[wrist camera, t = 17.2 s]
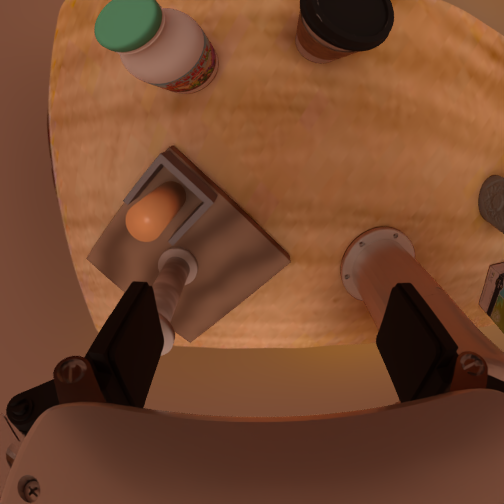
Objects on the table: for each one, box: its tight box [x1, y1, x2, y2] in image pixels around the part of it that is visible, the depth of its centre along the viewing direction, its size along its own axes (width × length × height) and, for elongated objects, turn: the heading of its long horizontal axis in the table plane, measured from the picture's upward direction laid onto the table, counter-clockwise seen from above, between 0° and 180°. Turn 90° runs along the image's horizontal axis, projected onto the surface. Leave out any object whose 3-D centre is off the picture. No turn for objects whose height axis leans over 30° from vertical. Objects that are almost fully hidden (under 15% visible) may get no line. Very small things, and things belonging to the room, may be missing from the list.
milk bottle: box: [95, 0, 218, 94], centre depth 21 cm, size 8×8×20 cm
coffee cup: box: [296, 0, 394, 63], centre depth 21 cm, size 8×8×15 cm
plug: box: [126, 181, 186, 242], centre depth 31 cm, size 4×4×10 cm
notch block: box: [123, 151, 218, 246], centre depth 34 cm, size 8×8×4 cm
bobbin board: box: [86, 146, 291, 355], centre depth 33 cm, size 22×22×17 cm
